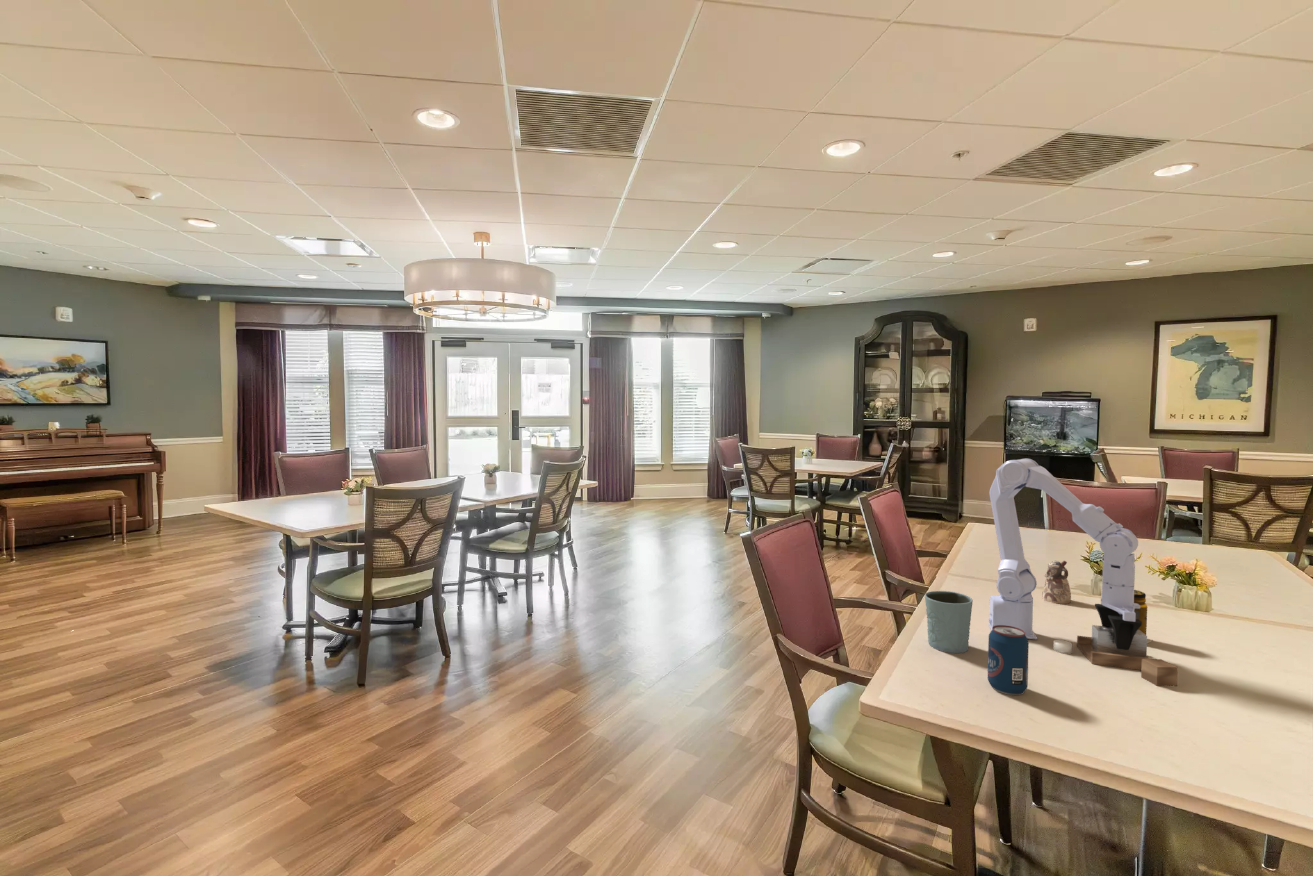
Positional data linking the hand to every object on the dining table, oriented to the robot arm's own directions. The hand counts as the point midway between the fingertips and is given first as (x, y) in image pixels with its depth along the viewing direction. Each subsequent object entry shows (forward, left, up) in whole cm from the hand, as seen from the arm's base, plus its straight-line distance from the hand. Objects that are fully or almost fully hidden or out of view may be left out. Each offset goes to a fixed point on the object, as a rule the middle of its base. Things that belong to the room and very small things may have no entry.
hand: (1116, 642), depth 134 cm
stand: (0, 0, -4) cm, 4 cm away
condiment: (+7, +15, -4) cm, 17 cm away
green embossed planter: (-35, -6, -4) cm, 36 cm away
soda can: (-26, -26, -4) cm, 37 cm away
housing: (0, 0, -3) cm, 3 cm away
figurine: (-1, +45, -4) cm, 45 cm away
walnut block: (+4, -11, -4) cm, 12 cm away
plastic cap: (-10, +1, -4) cm, 11 cm away
